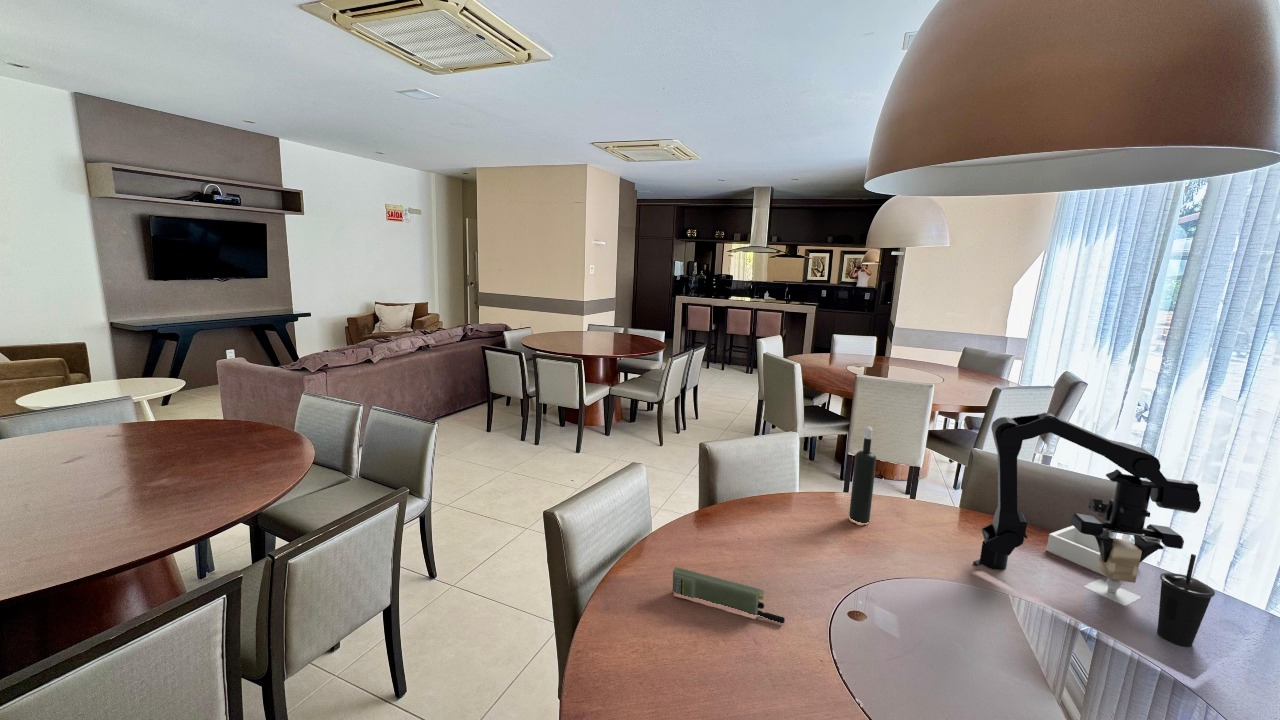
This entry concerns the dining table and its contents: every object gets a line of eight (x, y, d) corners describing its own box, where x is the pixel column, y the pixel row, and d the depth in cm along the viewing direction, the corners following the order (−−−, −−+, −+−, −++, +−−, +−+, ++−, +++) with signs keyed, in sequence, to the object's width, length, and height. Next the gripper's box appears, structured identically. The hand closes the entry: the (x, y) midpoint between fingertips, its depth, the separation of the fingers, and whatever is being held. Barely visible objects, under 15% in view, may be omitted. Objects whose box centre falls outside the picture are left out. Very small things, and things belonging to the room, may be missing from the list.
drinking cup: (1207, 662, 100) (1229, 570, 97) (1154, 646, 104) (1174, 557, 101) (1192, 639, 107) (1212, 552, 103) (1142, 625, 111) (1161, 541, 107)
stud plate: (1124, 610, 116) (1128, 592, 115) (1081, 590, 123) (1085, 573, 122) (1140, 601, 119) (1144, 583, 118) (1098, 583, 126) (1102, 565, 125)
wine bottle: (851, 525, 152) (861, 429, 147) (846, 516, 158) (856, 423, 153) (871, 527, 151) (882, 430, 146) (866, 518, 157) (876, 425, 152)
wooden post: (1135, 583, 117) (1142, 551, 115) (1108, 578, 118) (1114, 546, 117) (1123, 571, 121) (1129, 540, 120) (1097, 567, 123) (1103, 536, 122)
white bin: (1109, 582, 127) (1114, 560, 126) (1045, 554, 139) (1049, 533, 138) (1136, 569, 133) (1140, 548, 132) (1072, 543, 145) (1076, 524, 144)
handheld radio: (675, 590, 119) (785, 620, 109) (671, 598, 116) (783, 631, 106) (676, 564, 118) (787, 593, 108) (671, 572, 115) (785, 603, 105)
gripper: (1160, 494, 121) (1147, 554, 124) (1065, 482, 127) (1055, 539, 130) (1192, 514, 111) (1177, 579, 113) (1087, 500, 117) (1076, 562, 119)
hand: (1118, 563), depth 119 cm, fingers closed on wooden post, 5 cm apart
